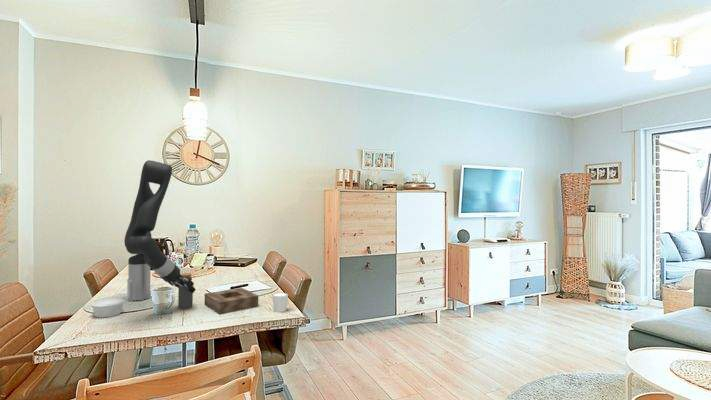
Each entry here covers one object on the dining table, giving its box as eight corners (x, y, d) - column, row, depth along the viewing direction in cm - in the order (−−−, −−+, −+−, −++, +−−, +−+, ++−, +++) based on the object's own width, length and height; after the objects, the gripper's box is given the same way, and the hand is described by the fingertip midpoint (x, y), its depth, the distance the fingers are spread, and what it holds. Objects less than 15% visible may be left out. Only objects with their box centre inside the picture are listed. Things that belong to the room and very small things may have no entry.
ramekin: (89, 320, 150) (89, 307, 150) (94, 312, 160) (94, 300, 160) (122, 316, 155) (122, 303, 155) (124, 309, 165) (124, 297, 165)
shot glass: (290, 308, 168) (290, 293, 167) (282, 313, 161) (283, 297, 161) (277, 307, 170) (277, 291, 170) (269, 311, 163) (269, 295, 163)
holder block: (219, 314, 159) (219, 302, 159) (204, 304, 172) (204, 293, 172) (258, 306, 171) (258, 295, 170) (241, 297, 184) (241, 287, 184)
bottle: (181, 305, 171) (181, 272, 170) (194, 305, 171) (194, 272, 171) (176, 309, 165) (176, 275, 165) (189, 309, 165) (190, 275, 165)
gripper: (183, 263, 158) (205, 285, 169) (159, 260, 164) (182, 281, 175) (172, 278, 153) (195, 299, 164) (148, 274, 159) (172, 295, 170)
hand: (188, 290), depth 169 cm, fingers closed on bottle, 5 cm apart
